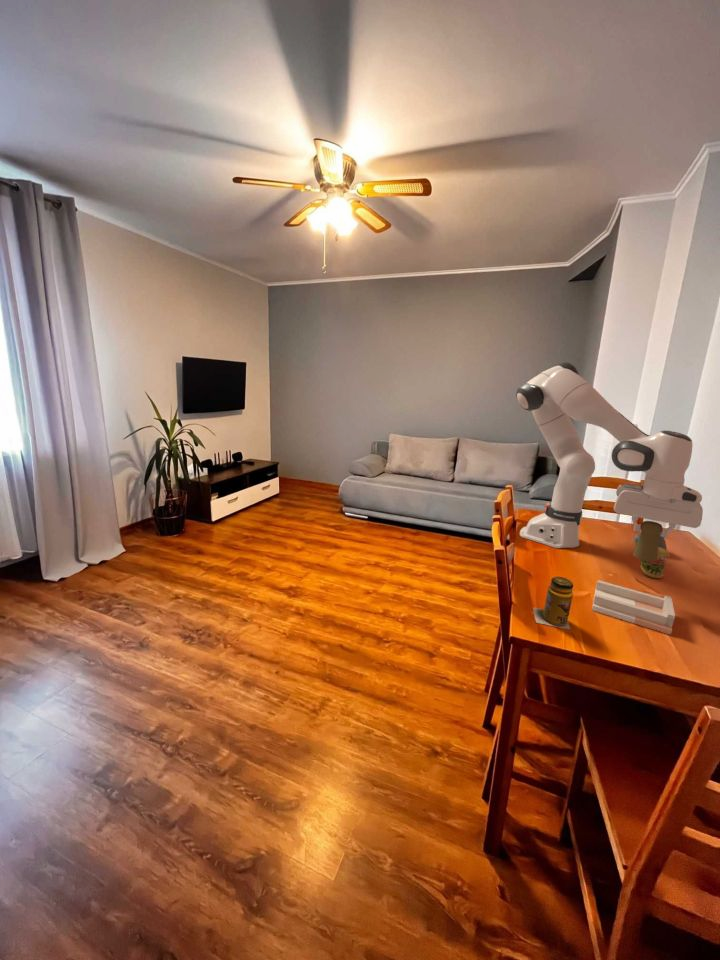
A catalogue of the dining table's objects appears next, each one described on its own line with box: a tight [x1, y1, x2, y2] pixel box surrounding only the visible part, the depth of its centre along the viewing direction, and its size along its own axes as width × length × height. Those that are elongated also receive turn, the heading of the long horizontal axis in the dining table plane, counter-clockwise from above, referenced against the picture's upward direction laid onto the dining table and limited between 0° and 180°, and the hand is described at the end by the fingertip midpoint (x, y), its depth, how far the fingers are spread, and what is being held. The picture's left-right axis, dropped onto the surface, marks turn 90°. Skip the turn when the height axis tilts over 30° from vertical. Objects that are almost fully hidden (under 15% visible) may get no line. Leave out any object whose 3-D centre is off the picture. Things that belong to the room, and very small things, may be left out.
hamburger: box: [640, 547, 671, 579], centre depth 131 cm, size 8×7×12 cm
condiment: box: [532, 576, 574, 630], centre depth 103 cm, size 7×8×12 cm
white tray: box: [591, 579, 676, 636], centre depth 110 cm, size 18×14×5 cm
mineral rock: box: [632, 532, 668, 551], centre depth 152 cm, size 13×11×10 cm
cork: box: [632, 520, 664, 561], centre depth 113 cm, size 6×6×11 cm
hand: (649, 533), depth 112 cm, fingers closed on cork, 5 cm apart
